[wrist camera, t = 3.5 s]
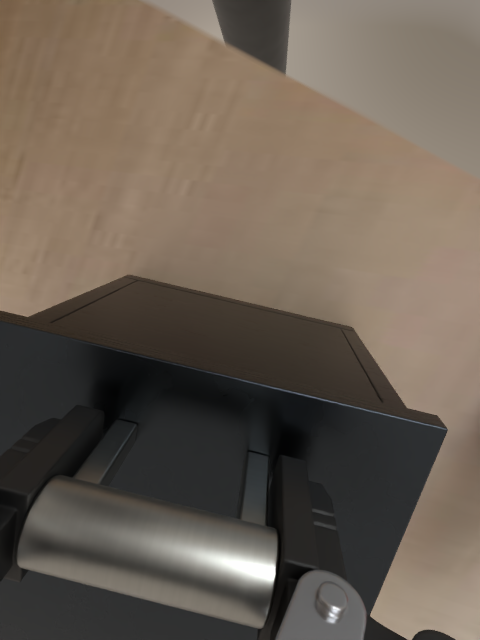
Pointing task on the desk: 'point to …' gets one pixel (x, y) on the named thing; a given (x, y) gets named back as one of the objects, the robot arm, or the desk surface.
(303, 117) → the desk surface
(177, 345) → the bin
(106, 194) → the desk surface
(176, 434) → the bin lid
